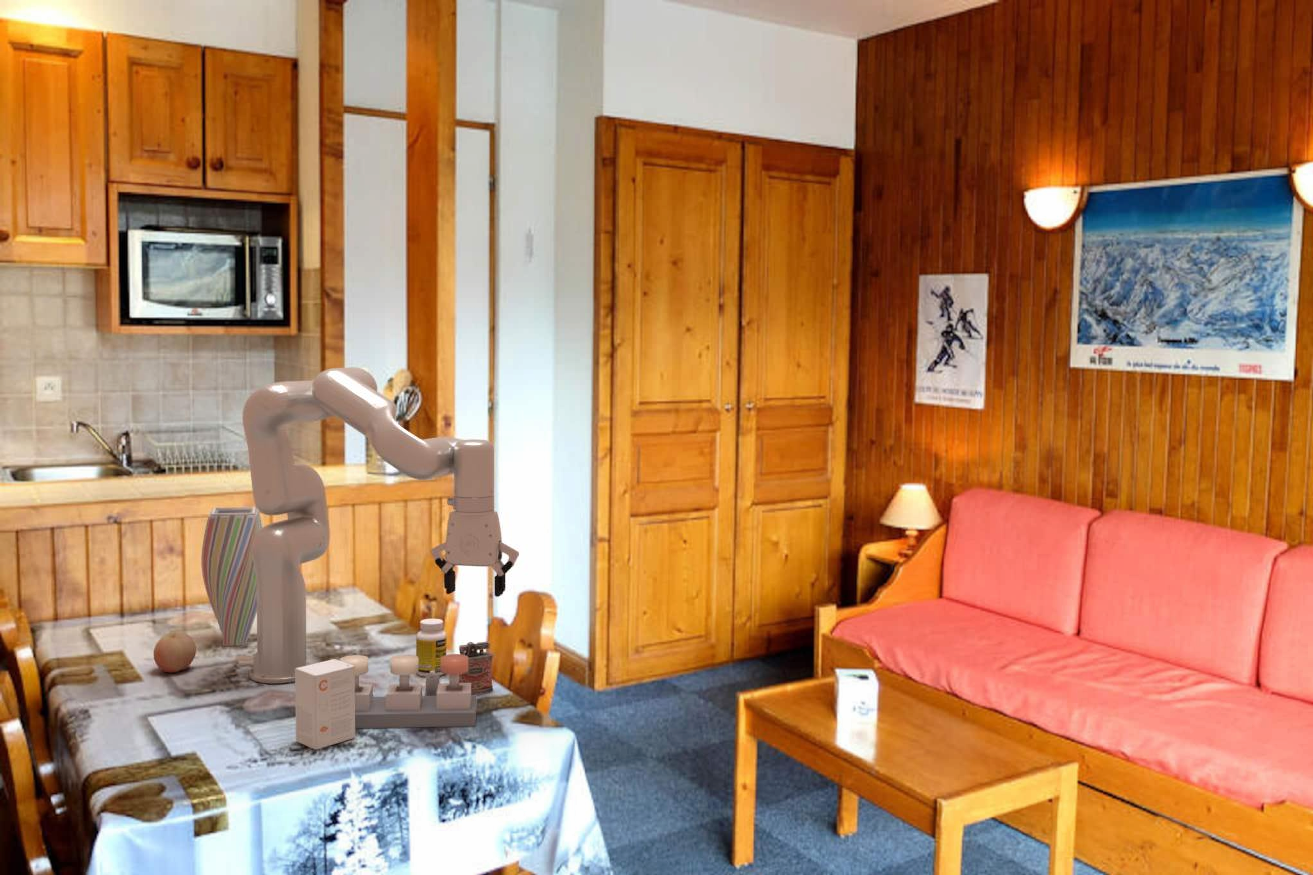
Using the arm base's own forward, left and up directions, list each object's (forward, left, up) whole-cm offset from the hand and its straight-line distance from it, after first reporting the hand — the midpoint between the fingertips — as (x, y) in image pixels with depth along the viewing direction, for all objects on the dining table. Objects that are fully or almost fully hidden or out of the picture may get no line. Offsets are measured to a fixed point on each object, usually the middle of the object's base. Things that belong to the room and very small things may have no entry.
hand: (474, 593), depth 217 cm
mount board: (-12, -8, -21) cm, 26 cm away
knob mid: (-12, -8, -15) cm, 21 cm away
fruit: (-61, +23, -21) cm, 69 cm away
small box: (-25, -19, -21) cm, 38 cm away
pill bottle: (-9, +19, -21) cm, 30 cm away
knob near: (-21, -8, -15) cm, 28 cm away
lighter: (0, +6, -21) cm, 22 cm away
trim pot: (-8, 0, -21) cm, 23 cm away
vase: (-54, +44, -21) cm, 73 cm away
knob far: (-3, -8, -15) cm, 18 cm away
